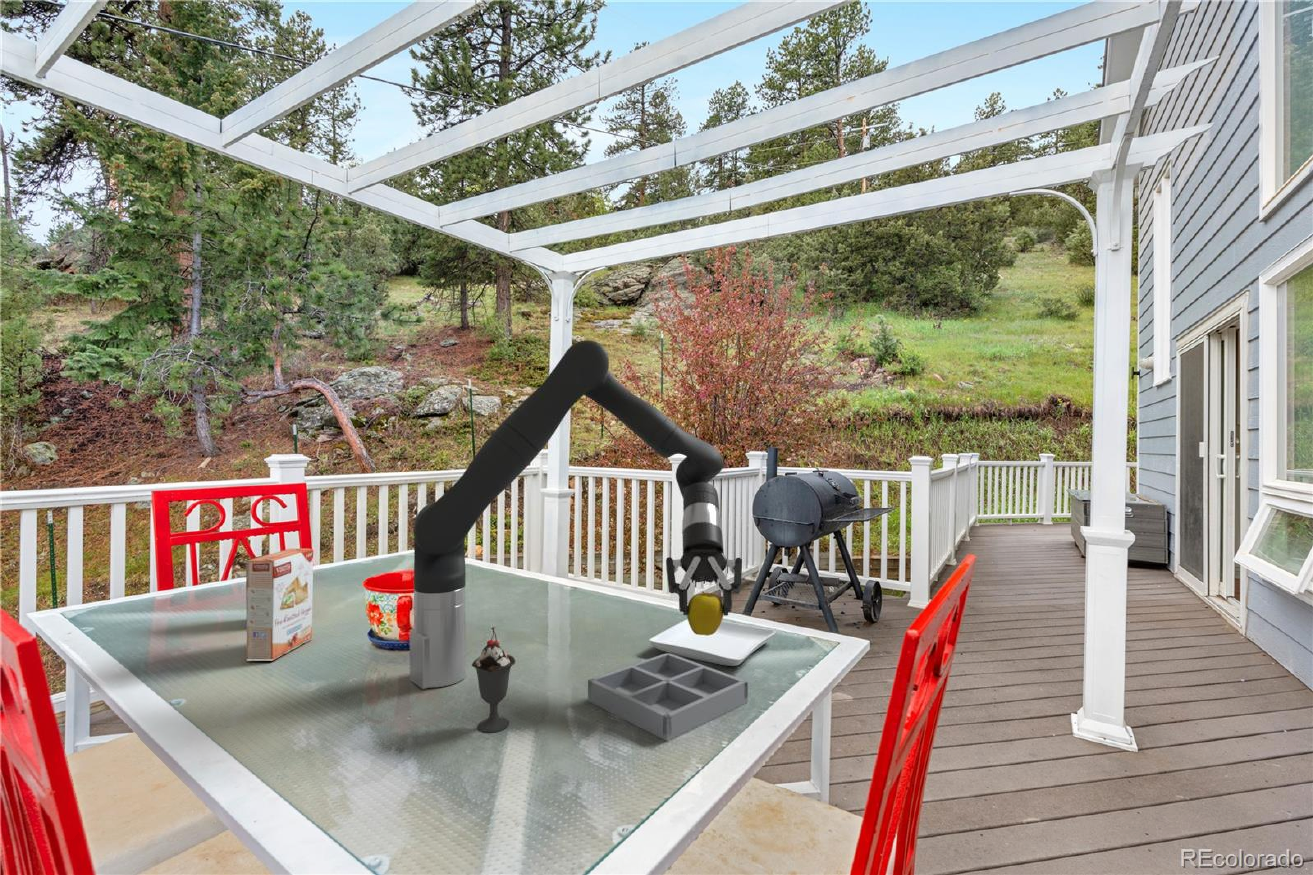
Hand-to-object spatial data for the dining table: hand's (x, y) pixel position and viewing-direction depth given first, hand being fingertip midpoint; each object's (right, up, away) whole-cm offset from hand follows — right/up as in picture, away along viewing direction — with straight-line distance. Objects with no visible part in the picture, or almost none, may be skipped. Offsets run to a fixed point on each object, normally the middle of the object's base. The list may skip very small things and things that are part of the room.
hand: (705, 613), depth 103 cm
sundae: (-34, -16, -7) cm, 38 cm away
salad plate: (+4, -16, +28) cm, 33 cm away
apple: (0, -5, +2) cm, 5 cm away
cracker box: (-89, -16, +27) cm, 94 cm away
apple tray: (-6, -16, +2) cm, 17 cm away
